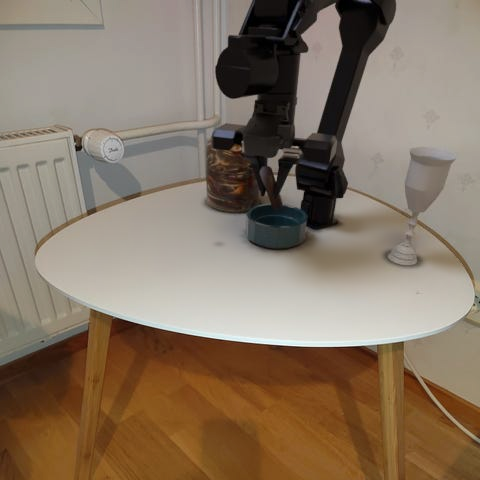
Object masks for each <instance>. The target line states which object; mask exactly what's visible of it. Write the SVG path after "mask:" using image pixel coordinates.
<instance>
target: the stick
mask: <svg viewBox="0 0 480 480" xmlns="http://www.w3.org/2000/svg"><path fill="white" fill-rule="evenodd" d="M260 176H261V179H262V182H263V184H264V187H265V189H266V195H267V198H268V200H269V204H271V205H272V208H273V210H274V211H276V212H279V211H281V210H282V209H283V204H284V203H283V199H282V196H281V193H280V194H279V196H278V198H277V199H276V198H275V186H276V180H277V179H276V177H275V174H274V171H273V168H272V167H271V166H270V165H267V166H264V167H262V168H261V169H260Z"/></svg>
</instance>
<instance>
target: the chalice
mask: <svg viewBox="0 0 480 480" xmlns="http://www.w3.org/2000/svg"><path fill="white" fill-rule="evenodd" d="M409 155H410V160H409V164H408V168H407V171H406V176H405V179H404V193H405V194H404V195H405V199H406V200H405V201H406V203H407V204H406V205H407V208H408V210H409V211H411V213H412V214H411V217H410V219H409V220H408V221H407V224H408V228H407V229H406V230H405V231H404V234H405V239H404V241H402V242H401V243H397V244H396V245H395V246H394V247H393V249H391V251H390V252H389V253H388V255H387V259H389V261H391V262H392V263H394V264H397V265H401V266H413V265H416V264H417V263H418V258H417V256H418V255H417V249H416V247H415V246H414V245H412V243H411V240H412V238H413V237H414V236H415V235H416V233H415V228H416V226H417V225H418V217H419V214H421V213H425V212H426V211H427V210H428V209H429V208H430V207H431V206H432V205H433V204H434V202H435V201H436V200H437V198H438V197H439V196H440V195H441V193H442V192H443V190H444V188H445V186H446V182H447V178H448V176H449V172H450V169H451V167H452V164H453V163H454V162H455V161H456V160H457V158H458V155H457V154H455V152H452V151H450V150H446V149H442V148H438V147H427V146H415V147H412V148H410V149H409Z"/></svg>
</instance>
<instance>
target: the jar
mask: <svg viewBox="0 0 480 480" xmlns="http://www.w3.org/2000/svg"><path fill="white" fill-rule="evenodd" d="M205 147H206V148H205V173H206V175H205V176H206V177H205V178H206V183H205V184H206V203H207V205H208V206H209V207H211V208H212V209H214V210H217V211H220V212H226V213H247V212H248V210H249V209H251V208H253V207H255V206H258V205H260V204H259V203H260V190H259V187H258V183H257V180H256V177H255V173H254V171H253V168H252V166H251V164H250V163H249V162H248V160H247V159H245V158H242V157H241V156H240V153H242V145H241V144H235V145H234V146H233V147H232V148H231V149H230V150H229V151H226V150H219V149H213V148H212V146H211V138H210V139H208V140H207V141H206V146H205Z"/></svg>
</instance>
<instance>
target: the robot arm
mask: <svg viewBox="0 0 480 480" xmlns="http://www.w3.org/2000/svg"><path fill="white" fill-rule="evenodd" d="M332 5H334V8H335V10H336V12H337V15H338V16H339V23H338V32H339V37H340V43H341V49H340V53H339V57H338V60H337V63H336V67H335V70H334V73H333V77H332V80H331V82H330V87H329V90H328V94H327V97H326V100H325V104H324V108H323V110H322V113H321V118H320V120H319V124H318V127H317V130H316V132H312V133H310V135H308V137H307V138H302V137H296V126H295V118H296V117H295V116H296V107H297V104H298V87H299V86H298V85H299V77H300V76H299V75H300V66H301V65H300V64H301V56H302V55H301V54H307V53H308V52H309V45H308V44H307V42H305V40H304V39H303V37H302V35H303V34H305V33H306V31H308V30H309V29H310V28H311V27H312V26H314V24H315V23H317V21H318V13H320V12H321V11H322V10H324V9H327V8H328V7H330V6H332ZM396 12H397V1H396V0H251V3H250V5H249V8H248V10H247V11H246V14H245V17H244V20H243V22H242V24H241V28H240V30H239V32H238V34H228V36H227V46H226V47H225V48H224V49H223V50H222V51H221V53H220V54H219V56H218V58H217V61H216V65H215V66H214V67H215V68H214V73H215V80H216V85H217V86H218V89H219V90H220V91H221V93H222V94H223V95H224V96H225V97H226V98H229V99H231V100H235V99H242V98H247V97H248V98H249V97H252V96H257V97H256V99H254V105H253V112H252V115H251V117H250V118H249V119H248V121H247V123H246V125H245V124H238V123H237V124H236V123H227V122H226V123H224V124H221V125H219V126H217V128H214V130H213V131H212V134H211V137H210V139H211V146H212V148H213V149H219V150H226V151H229V150H230V149H231V148H232V147H233V146H234V145H235V144H241V145H242V153H240V156H241V157H242V158H245V159H247V160H248V162H249V163H250V164H251V166H252V168H253V171H254V173H255V177H256V180H257V183H258V187H259V190H260V193H259V195H260V196H261V197H265V196H266V194H267V192H266V189H265V187H264V184H263V182H262V179H261V176H260V169H261V168H262V167H264V166H268V163H269V162H268V159H274V158H275V157H277V155H278V154H279V150H282V153H283V154H282V155H281V156H280V158H278V159H277V166H278V168H277V175H276V179H275V180H276V186H275V198H276V199H277V198H278V196H279V194H280V195H281V192H282V189H283V187H284V185H285V183H286V181H287V178H288V176H289V174H290V172H291V170H292V168H293V167H294V165H295V169H294V175H295V184H296V190H298V191H301V192H302V191H303V194H302V199H301V201H300V207H299V209H301V210H302V211H304V212H305V213H306V215H307V216H308V219H307V226H308V227H309V228H311V229H313V230H319V229H322V228H325V227H326V228H327V227H329V226H334V225H337V224H339V220H338V219H337V218H335V217H334V216H335V209H336V205H337V204H336V203H337V199H343V198H344V197H345V196H344V195H346V193H347V189H348V185H349V182H348V178H347V176H346V174H345V171H344V166H345V162H346V158H345V153H344V148H343V144H342V143H343V138H344V136H345V132H346V129H347V126H348V124H349V120H350V117H351V114H352V110H353V108H354V104H355V100H356V98H357V95H358V92H359V89H360V85H361V83H362V79H363V76H364V72H365V70H366V66H367V63H368V60H369V57H370V56H371V55H372V53H373V52H374V51H375V50H376V49H377V48H378V47H379V46H380V45H381V44H382V43H383V42H384V40H385V39H386V35H387V33H388V30H389V28H390V26H391V24H392V23H393V21H394V19H395V16H396Z"/></svg>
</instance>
